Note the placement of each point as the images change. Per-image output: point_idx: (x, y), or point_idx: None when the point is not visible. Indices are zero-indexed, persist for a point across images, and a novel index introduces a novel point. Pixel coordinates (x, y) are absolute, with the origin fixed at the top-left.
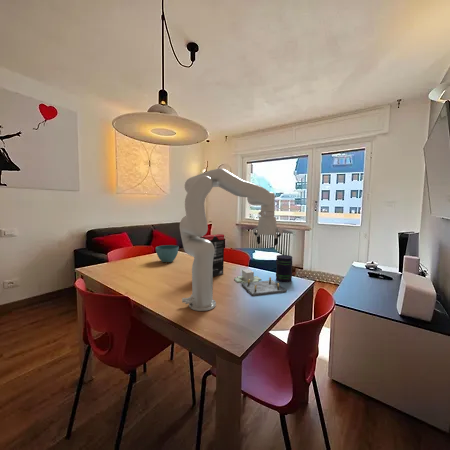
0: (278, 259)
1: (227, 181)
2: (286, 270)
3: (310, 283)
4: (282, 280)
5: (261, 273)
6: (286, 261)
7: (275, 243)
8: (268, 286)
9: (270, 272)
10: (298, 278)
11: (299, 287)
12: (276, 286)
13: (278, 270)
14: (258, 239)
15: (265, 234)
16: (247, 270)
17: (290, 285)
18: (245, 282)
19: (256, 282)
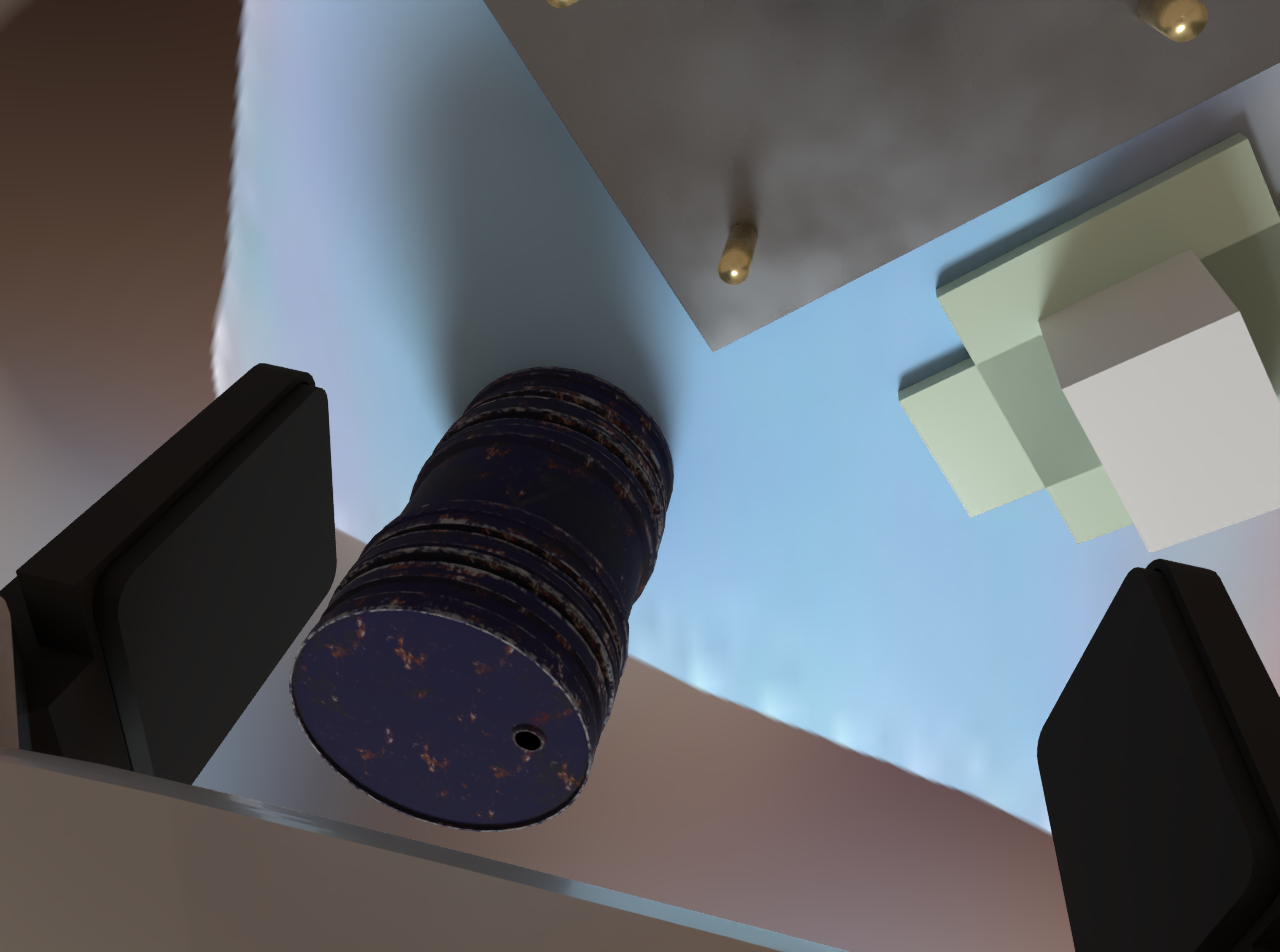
0: (548, 634)
1: None
2: (456, 475)
3: None
4: (563, 385)
5: (898, 660)
6: (393, 569)
7: (215, 405)
8: (758, 15)
9: (767, 709)
10: None
11: (314, 211)
12: (621, 61)
13: (596, 498)
14: (1253, 751)
15: (684, 918)
16: (1195, 465)
17: (443, 261)
18: (1212, 156)
19: (989, 174)
